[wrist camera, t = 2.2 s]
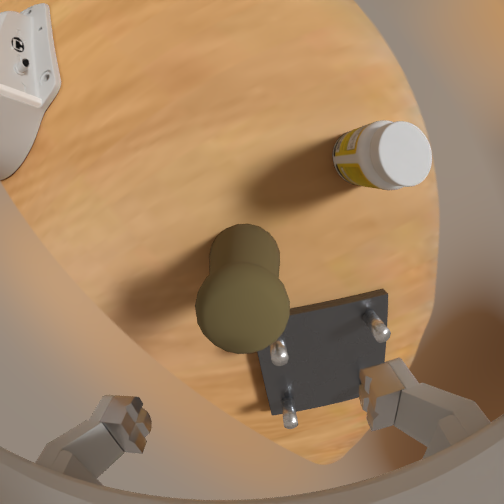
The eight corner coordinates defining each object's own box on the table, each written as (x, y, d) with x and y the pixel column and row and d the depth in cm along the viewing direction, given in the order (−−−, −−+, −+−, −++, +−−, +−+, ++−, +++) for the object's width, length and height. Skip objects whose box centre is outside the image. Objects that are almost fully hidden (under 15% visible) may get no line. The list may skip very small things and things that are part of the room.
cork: (232, 302, 26) (223, 384, 15) (196, 246, 24) (159, 302, 14) (292, 270, 25) (320, 340, 14) (258, 210, 23) (266, 243, 13)
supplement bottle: (384, 183, 23) (439, 191, 15) (335, 187, 23) (377, 197, 15) (377, 129, 21) (431, 116, 13) (327, 131, 22) (366, 114, 14)
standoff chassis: (250, 315, 26) (251, 344, 22) (382, 288, 26) (404, 310, 21) (271, 408, 30) (273, 438, 25) (377, 384, 29) (391, 410, 25)
